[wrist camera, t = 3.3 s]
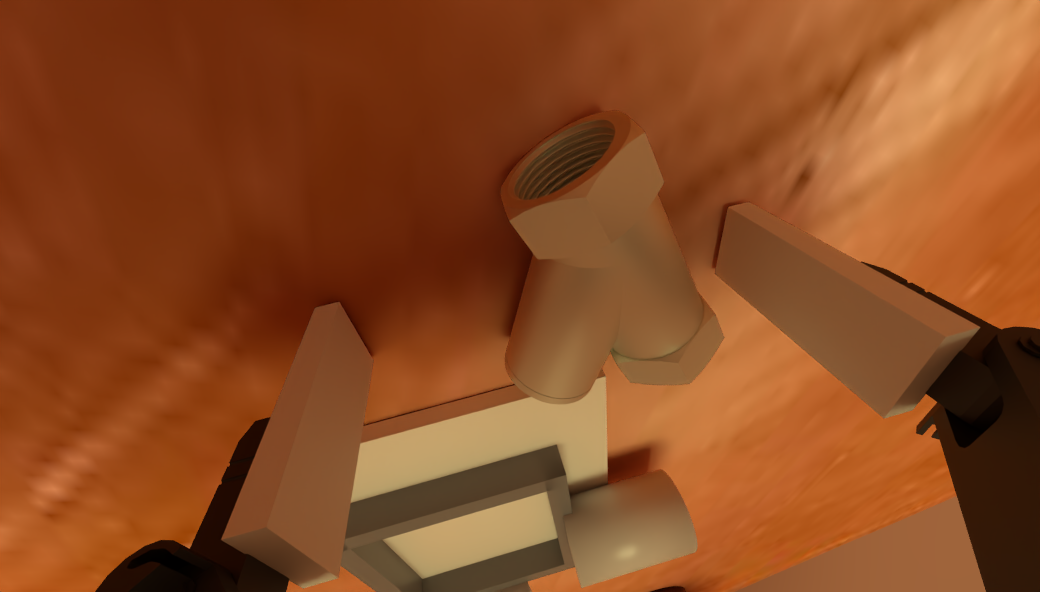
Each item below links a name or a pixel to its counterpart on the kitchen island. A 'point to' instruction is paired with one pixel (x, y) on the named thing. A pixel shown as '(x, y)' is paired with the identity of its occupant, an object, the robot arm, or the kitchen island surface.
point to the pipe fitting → (600, 267)
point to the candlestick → (671, 589)
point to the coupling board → (504, 499)
